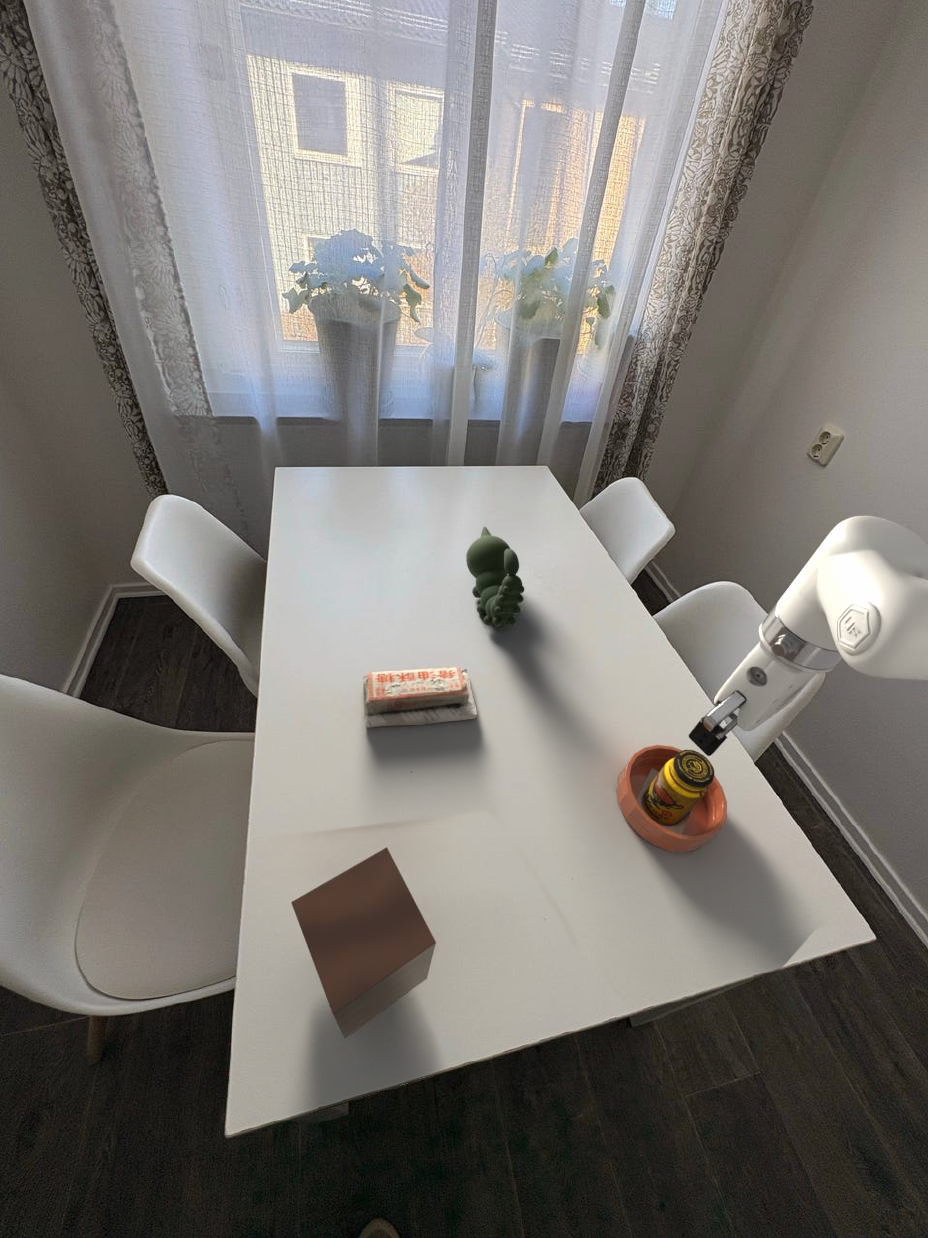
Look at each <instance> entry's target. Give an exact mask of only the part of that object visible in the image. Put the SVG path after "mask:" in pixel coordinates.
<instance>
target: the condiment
mask: <svg viewBox="0 0 928 1238" xmlns="http://www.w3.org/2000/svg"><path fill="white" fill-rule="evenodd" d="M682 750H683V751H680V752H679V753H677V754H676V756H675V757H674V758H673V759H671V760H669V761H668V762H667V763H666V764H665V765H664V767H663V768H662V769H661V771H660V772H658V771H656V770H655V769H653V768H652V769H651V771H650V773H649V775H648V777H647V780H646V782H645V784H644V786H643V788H642V790H641V792H640V794H639V796H638V798H637V800H636V801H637V802H638V804H639V806H640V807H641V808H642V810H643V811H644V812H645V813H646V814H647V815H648V816H649V818H650V819H652V820H653V821H654V822H656V823H657V824H659V825H660V826H661V827H663V828H664V829H667V830H669V831H672V832H674V833H677V834H679V835H682V833H683V830H684V828H685V825H686V822H687V820H688V817H689V815H690V813H691V810H692V808H693V807H694V806H695V805H696V803H697V802H698V801H699V800H700V799H701V798H702V797H703V796H704V795H705V794H706V792H707V790H708V786H709V784H710V783H711V782H712V781H713V779H714V775H715V768H714V766H713V765H712V763H711V761H710V760H709V759H708V758H707V757H706V756H705V755H704V754H702V753H700V752H699V751H696V750H694V749H682Z"/></svg>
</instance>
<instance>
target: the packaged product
mask: <svg viewBox="0 0 928 1238" xmlns="http://www.w3.org/2000/svg"><path fill="white" fill-rule="evenodd" d="M362 678H363V679H362V681H363V683H362V684H363V687H362V688H363V705H364V706H363V707H364V725H365V727H366V728H367V729H368V728H378V727H379V728H380V727H393V726H394V727H395V726H396V727H397V726H420V725H421V726H422V725H429V724H436V723H445V722H455V721H465V720H466V721H467V720H473V719H474V720H475V719H476V718H477V717H478V712H477V706H476V702H475V698H474V694H473V691H472V687H471V682H470V677H469V673H468V670H467V668H462V669H461V667H459V666H449V667H448V666H447V667H432V668H419V669H417V668H416V669H402V670H382V671H381V670H380V671H370V672H369V673H368V674H367V675H363V677H362Z"/></svg>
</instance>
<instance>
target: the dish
mask: <svg viewBox="0 0 928 1238" xmlns="http://www.w3.org/2000/svg"><path fill="white" fill-rule="evenodd" d="M683 750H684V749H680V748H677V747H675V746H672V745H664V744H663V745H661V744H656V745H649V746H645V747H642V748H641V749H639V750H638V751H636V752H634V753H633V755H632V756H631V758H630V759H629V761H628V763H627V764H626V765H625V767H624V769H623V771H622V772H621V773H620V775H619V776H618V780H617V785H616V795H617V801H618V807H619V809H620V810H621V812H622V814H623V816H624V819H625V821H626V822H627V823H628V824H629V825H630V827H631V828H632V829H633V830H634V831H635V832H636V833H637V835H638V836H639V837H642V838H643V839H644V840H646V841H647V842H648V843H649V844H651V845H653V846H655V847H657V848H661V849H663V850H665V851H667V852H676V853H688V852H691V851H696V850H698V849H700V848H701V847H702V846H703V845H705V844H706V843H707V842H708V841H710V840H711V839H713V837H714V836H715V835H716V834H717V833H718V832H720V831H721V830H722V828H723V826H724V824H725V822H726V819H727V817H728V801H727V798H726V794H725V792H724V789H723V788H724V787H723V786H722V785H721V783H720V782H719V780H718V778H717V777H716V775H715V774H714V779H713V781H712V782H711V783H710V784H709V786H708V790H707V792H706V794H705V795H704V796H703V797H702V798H701V799H700V800H699V801H698V802H697V803H696V805H695V806H694V807H693V808H692V810H691V813H690V815H689V817H688V820H687V822H686V825H685V828H684V830H683V833H682V835H679V834H677V833H674V832H672V831H669V830H667V829H664V828H663V827H661V826H660V825H659V824H657V823H656V822H654V821H653V820H652V819H650V818H649V816H648V815H647V814H646V813H645V812H644V811H643V810H642V808H641V807H640V806H639V804H638V802H637V801H636V800H637V798H638V796H639V794H640V792H641V790H642V788H643V786H644V784H645V782H646V780H647V777H648V775H649V773H650V771H651V769H652V768H653V769H655V770H656V771H658V772H660V771H661V769H662V768H663V767H664V765H665V764H666V763H667V762H668V761H669V760H671V759H673V758H674V757H675V756H676V754H677V753H679V752H680V751H683Z"/></svg>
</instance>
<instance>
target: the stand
mask: <svg viewBox="0 0 928 1238" xmlns="http://www.w3.org/2000/svg"><path fill="white" fill-rule="evenodd" d="M290 904H291V906H292V910H294V914H295V917H296V920H297V922H298V925H299V927H300V930H301V934H302V936H303V938H304V941H305V944H306V946H307V948H308V952H309V955H310V957H311V960H312V962H313V964H314V967H315V970H316V973H317V976H318V978H319V981H320V984H321V987H322V989H323V992H324V994H325V997H326V1000H327V1003H328V1006H329V1008H330V1011H331V1013H332V1015H333V1018H334V1019H335V1022H336V1024H337V1026H338V1028H339V1030H340V1032H341V1033H342V1036H343V1038H344V1039H347V1038H348V1037H350V1035H352V1034H353V1033H355V1032H356V1031H357V1030H359V1029H360V1028H361V1027H363V1026H364V1025H366V1024H367V1023H369V1022H370V1021H371V1020H373V1019H374V1018H375V1017H376V1016H378V1015H379V1014H381V1013H382V1012H384V1011H385V1010H386V1009H388V1008H389V1007H390V1006H392V1005H393V1004H394V1003H396V1002H397V1001H398V1000H400V999H401V998H403V997H404V996H405V995H407V994H408V993H410V992H411V991H412V990H414V989H415V988H416V987H418V986H419V985H421V984H422V983H423V982H424V981H426V980H427V979H428V977H429V976H428V975H429V973H430V972H429V971H430V968H431V964H432V959H433V956H434V952H435V947H436V945H437V941H436V939H435V937H434V936H433V934H432V932H431V930H430V928H429V926H428V924H427V922H426V921H425V919H424V915H423V914H422V912H421V910H420V908H419V907H418V904H417V903H416V901H415V899H414V896H413V895H412V893H411V891H410V889H409V887H408V885H407V883H406V881H405V880H404V877H403V876H402V873H401V872H400V870H399V868H398V866H397V864H396V862H395V859H394V858H393V856H392V854H391V852H390V850H389V848H388V847H384V848H382V849H381V850H379V851H377V852H376V853H374V854H372V855H370V856H368V857H367V858H365V859H364V860H362V861H360V862H359V863H356V864H355V865H353V866H351V867H350V868H348V869H346V870H344V871H343V872H341V873H339V874H337V875H335V877H332V878H330V879H329V880H327V881H325V882H323V883H322V884H320V885H319V886H317V887H314V888H313V889H311V890H310V891H308V892H306V893H304V894H303V895H301V896H299V897H298V898H296V899H294V900H292V901H291V903H290Z"/></svg>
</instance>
